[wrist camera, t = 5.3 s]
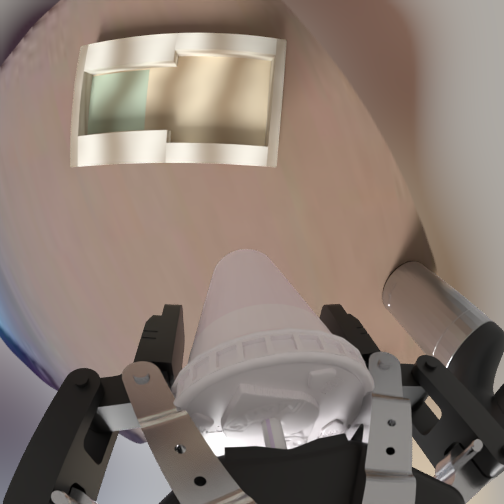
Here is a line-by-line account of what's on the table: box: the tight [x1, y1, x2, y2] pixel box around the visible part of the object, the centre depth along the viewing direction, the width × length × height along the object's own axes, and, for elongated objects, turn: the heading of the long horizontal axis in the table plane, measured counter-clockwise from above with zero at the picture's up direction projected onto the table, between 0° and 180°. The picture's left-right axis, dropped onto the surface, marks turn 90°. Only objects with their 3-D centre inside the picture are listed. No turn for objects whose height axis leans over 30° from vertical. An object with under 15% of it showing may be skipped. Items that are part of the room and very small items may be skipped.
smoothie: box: [171, 249, 375, 457], centre depth 9 cm, size 6×6×14 cm
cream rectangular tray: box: [70, 33, 287, 167], centre depth 25 cm, size 22×14×4 cm, turn 86°
